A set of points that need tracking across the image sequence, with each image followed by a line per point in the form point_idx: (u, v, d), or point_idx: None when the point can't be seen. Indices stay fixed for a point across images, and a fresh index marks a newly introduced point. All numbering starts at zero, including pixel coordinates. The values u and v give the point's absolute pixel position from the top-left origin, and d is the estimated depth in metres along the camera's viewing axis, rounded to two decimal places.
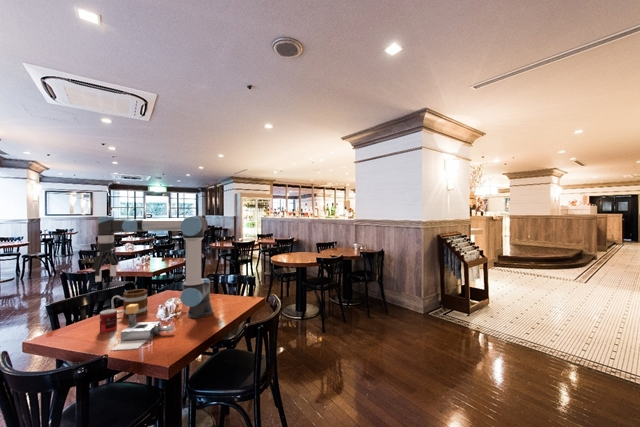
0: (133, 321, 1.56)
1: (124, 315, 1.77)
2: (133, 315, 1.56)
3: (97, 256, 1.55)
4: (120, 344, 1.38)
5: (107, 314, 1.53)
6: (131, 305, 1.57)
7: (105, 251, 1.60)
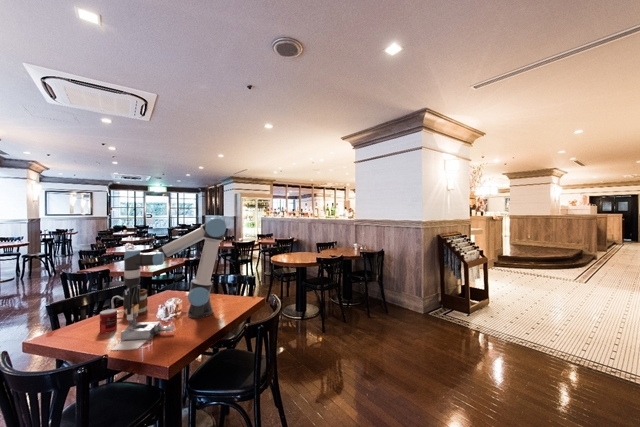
0: (133, 321, 1.56)
1: (124, 315, 1.77)
2: (133, 315, 1.56)
3: (125, 295, 1.51)
4: (120, 344, 1.38)
5: (107, 314, 1.53)
6: None
7: (131, 286, 1.55)
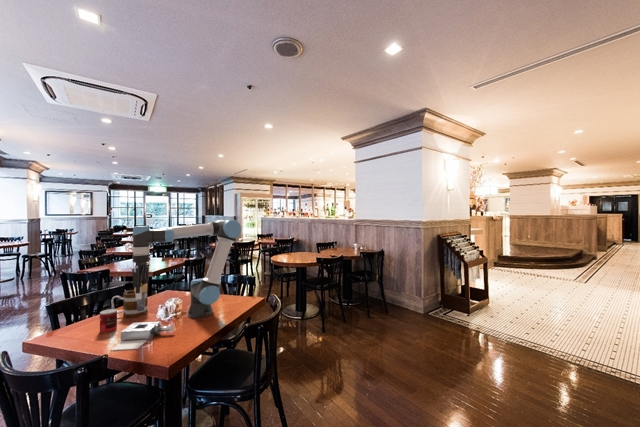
0: (142, 301, 1.48)
1: (124, 315, 1.77)
2: (142, 294, 1.48)
3: (134, 273, 1.43)
4: (120, 344, 1.38)
5: (107, 314, 1.53)
6: None
7: (140, 264, 1.47)
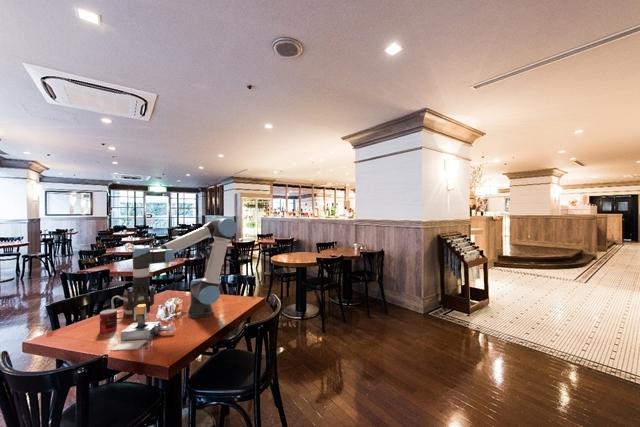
0: None
1: (124, 315, 1.77)
2: (137, 316, 1.48)
3: None
4: (120, 344, 1.38)
5: (107, 314, 1.53)
6: (140, 305, 1.50)
7: (134, 285, 1.48)
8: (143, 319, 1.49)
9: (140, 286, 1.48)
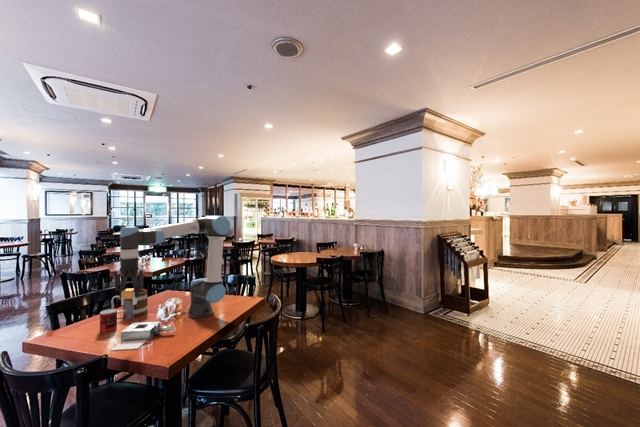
0: (125, 308, 1.37)
1: (124, 315, 1.77)
2: (125, 301, 1.37)
3: None
4: (120, 344, 1.38)
5: (107, 314, 1.53)
6: (129, 289, 1.38)
7: (122, 267, 1.37)
8: (131, 304, 1.37)
9: (128, 268, 1.37)
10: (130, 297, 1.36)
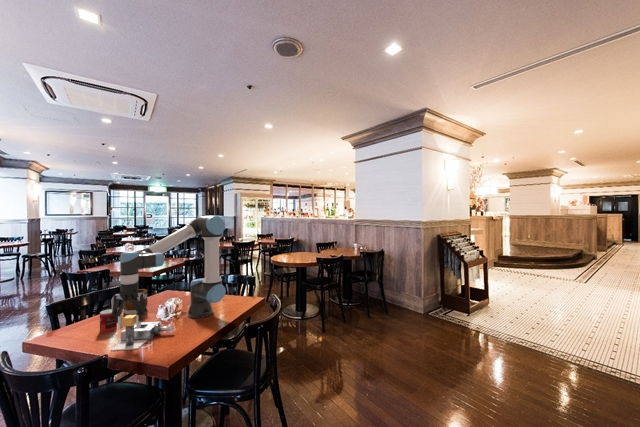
0: (126, 335, 1.37)
1: (124, 315, 1.77)
2: (126, 328, 1.37)
3: None
4: (120, 344, 1.38)
5: (107, 314, 1.53)
6: (129, 316, 1.38)
7: (122, 293, 1.37)
8: (131, 331, 1.37)
9: (128, 294, 1.37)
10: (130, 324, 1.36)
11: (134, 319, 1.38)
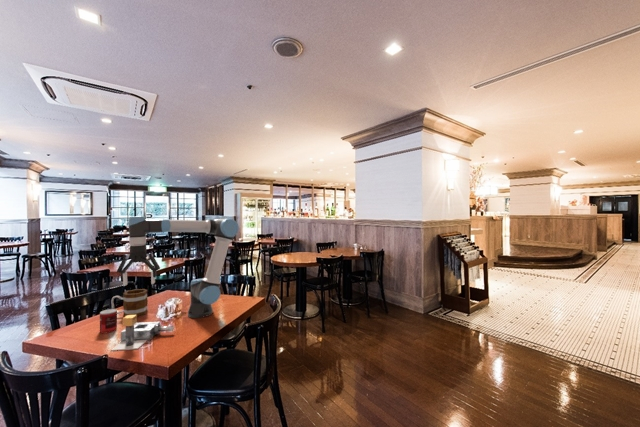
0: (126, 335, 1.37)
1: (124, 315, 1.77)
2: (126, 328, 1.37)
3: None
4: (120, 344, 1.38)
5: (107, 314, 1.53)
6: (129, 316, 1.38)
7: (132, 254, 1.47)
8: (131, 331, 1.37)
9: (137, 255, 1.47)
10: (130, 324, 1.36)
11: (134, 319, 1.38)
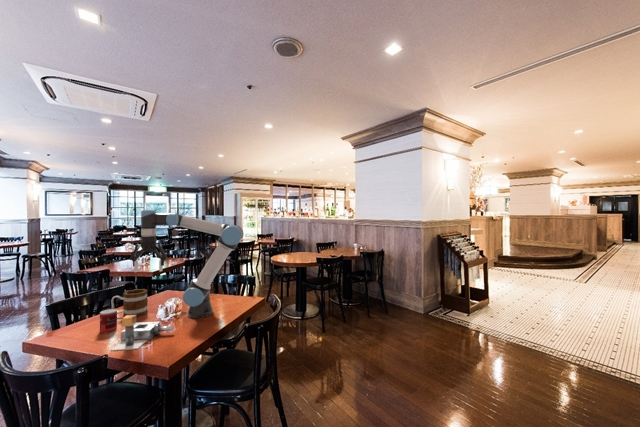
0: (125, 335, 1.37)
1: (124, 315, 1.77)
2: (125, 328, 1.37)
3: None
4: (120, 344, 1.38)
5: (107, 314, 1.53)
6: (128, 316, 1.38)
7: (143, 244, 1.63)
8: (131, 331, 1.37)
9: (147, 245, 1.63)
10: (130, 324, 1.36)
11: (134, 319, 1.38)
